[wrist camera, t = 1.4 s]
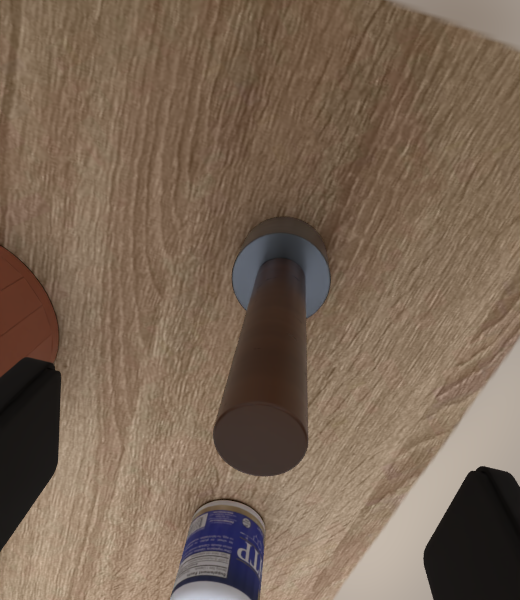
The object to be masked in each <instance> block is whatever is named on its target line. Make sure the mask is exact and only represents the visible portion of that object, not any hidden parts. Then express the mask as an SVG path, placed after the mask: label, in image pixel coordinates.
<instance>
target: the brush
mask: <svg viewBox="0 0 520 600" xmlns="http://www.w3.org/2000/svg"><path fill="white" fill-rule="evenodd" d="M330 283H331V274H330V268H329V263H328V257H327V251H326V247H325V244H324V242H323V240H322V238H321V236H320V235H319V233H318V232H317V231H316V230H315V229H314V228H313V227H311V226H310V225H309V224H307V223H306V222H304V221H301V220H299V219H296V218H291V217H276V218H271V219H268V220H265V221H264V222H262V223H260V224H258V225H257V226H256V227H254V228H253V229H252V230H251V231H250V233H249V234H248V235H247V237H246V238H245V240H244V243H243V245H242V247H241V249H240V251H239V254H238V256H237V258H236V260H235V263H234V266H233V270H232V286H233V290H234V293H235V295H236V298H237V299H238V301H239V303H240V304H241V305H242V307H243V308H244V309H245V310H246V315H245V318H244V322H243V326H242V329H241V333H240V336H239V340H238V344H237V347H236V351H235V354H234V358H233V361H232V365H231V369H230V372H229V376H228V379H227V383H226V386H225V390H224V394H223V397H222V401H221V404H220V408H219V412H218V415H217V419H216V422H215V426H214V430H213V440H214V444H215V447H216V450H217V451H218V453H219V455H220V456H221V458H222V459H223V460H224V461H225V462H226V463H228V464H229V465H230V466H232V467H233V468H235V469H237V470H238V471H241V472H243V473H246V474H249V475H254V476H274V475H279V474H282V473H285V472H287V471H289V470H291V469H292V468H294V467H295V466H296V465H298V464H299V462H300V461H301V460H302V459H303V457H304V455H305V453H306V451H307V448H308V393H307V334H306V319H307V318H308V317H310V316H312V315H313V314H314V313H315V312H316V311H317V310H318V309H319V308H320V307H321V306H322V305H323V303H324V302H325V300H326V298H327V296H328V293H329V289H330Z"/></svg>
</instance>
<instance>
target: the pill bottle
mask: <svg viewBox="0 0 520 600" xmlns="http://www.w3.org/2000/svg"><path fill="white" fill-rule="evenodd" d="M264 544H265V526H264V523H263V521H262V519H261V517H260V516H259V515H258V514H257V513H256V512H255V511H254V510H253V509H251V508H250V507H248V506H246V505H244V504H242V503H239V502H235V501H229V500H219V501H213V502H210V503H207V504H205V505H203V506H202V507H200V508H199V509H198V510H197V511H196V513H195V514H194V516H193V518H192V522H191V525H190V529H189V532H188V536H187V540H186V544H185V547H184V551H183V555H182V559H181V562H180V566H179V570H178V573H177V576H176V580H175V584H174V587H173V591H172V594H171V598H170V600H260V590H261V580H262V568H263V556H264Z"/></svg>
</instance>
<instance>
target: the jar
mask: <svg viewBox="0 0 520 600" xmlns="http://www.w3.org/2000/svg"><path fill="white" fill-rule="evenodd" d="M58 343H59V332H58V324H57V319H56V316H55V313H54V310H53V307H52V304H51V302H50V300H49V298H48V296H47V294H46V292H45V291H44V289H43V287H42V286H41V284H40V283H39V281H38V280H37V279H36V278H35V276H34V275H33V274H32V272H31V271H30V270H29V269H28V268H27V267H26V266H25V265H24V264H23V263H22V262H21V261H20V260H19V259H17V258H16V257H15V256H14V255H13V254H12V253H10V252H9V251H8V250H6V249H5V248H3V247H2V246H0V377H1V376H2V375H4V374H5V373H6V372H7V371H8V370H9V369H11V368H12V367H13V366H14V365H15V364H16V363H18V362H19V361H20V360H21V359H23V358H24V357H30V358H34V359H38V360H43V361H47V362H51V363H54V361H55V358H56V354H57V351H58Z"/></svg>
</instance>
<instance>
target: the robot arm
mask: <svg viewBox="0 0 520 600" xmlns="http://www.w3.org/2000/svg"><path fill="white" fill-rule="evenodd" d="M60 392H61V374H60V372H59V371H55V366H54V364H53V363H51V362H47V361H43V360H38V359H34V358H30V357H24V358H23V359H21V360H20V361H19V362H18V363H16V364H15V365H14V366H13V367H12V368H11V369H9V370H8V371H7V372H6V373H5V374H4V375H2V376H1V377H0V551H1V550H2V548H3V547H4V546H5V544H6V543H7V541H8V540H9V538H10V537H11V535H12V534H13V533H14V531H15V530H16V528H17V527H18V525H19V524H20V522H21V521H22V519H23V518H24V517H25V515H26V514H27V512H28V511H29V509H30V508H31V506H32V505H33V504H34V502H35V501H36V499H37V498H38V496H39V495H40V493H41V492H42V491H43V489H44V488H45V486H46V485H47V483H48V482H49V480H50V479H51V477H52V476H53V474H54V472H55V470H56V467H57V463H58V448H59V420H60ZM423 559H424V567H425V570H426V574H427V578H428V581H429V585H430V588H431V592H432V595H433V599H434V600H520V487H519V485H518V484H517V482H516V480H515V478H514V477H513V476H512V475H511V474H510V473H508V472H505V471H501V470H497V469H493V468H489V467H485V466H481V467H479V468H477V470H476V471H471V472H469V473H468V475H467V477H466V478H465V480H464V482H463V483H462V485H461V487H460V489H459V490H458V492H457V494H456V495H455V497H454V499H453V501H452V502H451V504H450V506H449V508H448V509H447V511H446V513H445V515H444V516H443V518H442V520H441V521H440V523H439V525H438V527H437V528H436V530H435V532H434V534H433V535H432V537H431V539H430V541H429V542H428V544H427V546H426V548H425V551H424V558H423Z"/></svg>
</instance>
